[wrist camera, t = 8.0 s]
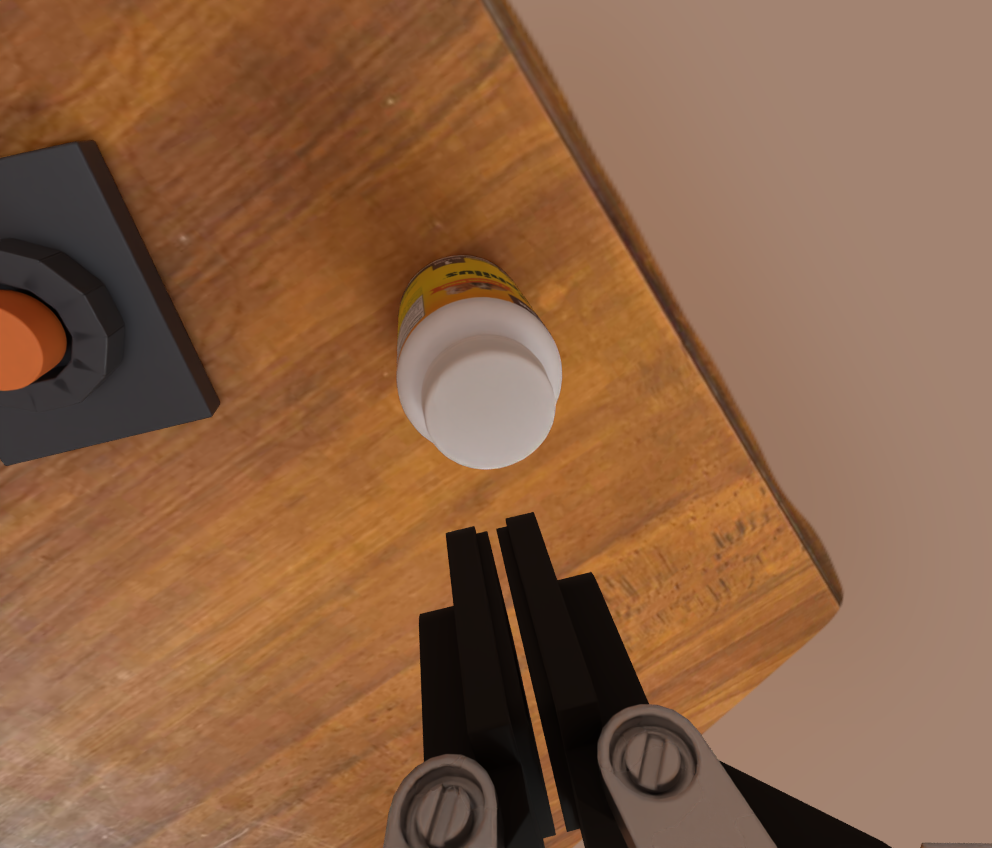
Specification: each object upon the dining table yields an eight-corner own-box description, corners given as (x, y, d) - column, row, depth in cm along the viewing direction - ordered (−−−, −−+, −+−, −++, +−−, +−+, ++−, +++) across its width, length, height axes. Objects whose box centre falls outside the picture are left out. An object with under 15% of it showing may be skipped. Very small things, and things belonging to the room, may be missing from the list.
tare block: (-156, 194, 21) (-236, 205, 18) (95, 139, 21) (51, 142, 18) (23, 450, 26) (-19, 487, 23) (221, 403, 26) (201, 434, 24)
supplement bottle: (543, 288, 26) (619, 375, 17) (483, 389, 28) (524, 516, 19) (432, 226, 24) (451, 288, 15) (376, 340, 26) (364, 454, 17)
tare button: (-54, 300, 20) (-91, 315, 19) (37, 279, 21) (7, 292, 19) (0, 381, 22) (-30, 401, 20) (85, 361, 22) (61, 379, 21)
